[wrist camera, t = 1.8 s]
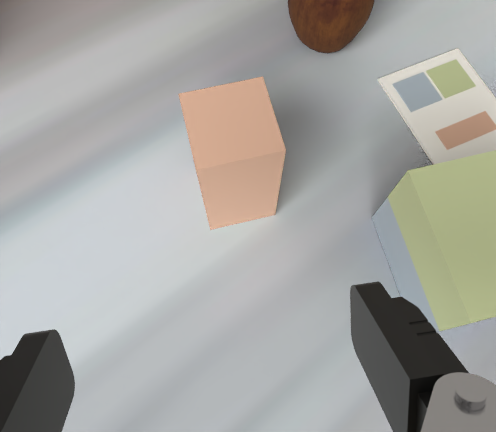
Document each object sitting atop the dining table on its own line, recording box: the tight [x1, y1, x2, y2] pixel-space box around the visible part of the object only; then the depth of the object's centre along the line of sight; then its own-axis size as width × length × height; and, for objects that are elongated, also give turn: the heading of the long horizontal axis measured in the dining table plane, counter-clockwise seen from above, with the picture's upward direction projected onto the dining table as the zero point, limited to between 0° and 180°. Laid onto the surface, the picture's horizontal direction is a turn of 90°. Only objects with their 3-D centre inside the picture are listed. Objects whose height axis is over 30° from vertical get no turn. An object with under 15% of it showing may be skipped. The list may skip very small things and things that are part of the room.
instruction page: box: [378, 48, 496, 165], centre depth 37 cm, size 10×8×1 cm
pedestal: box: [372, 150, 496, 332], centre depth 28 cm, size 9×9×8 cm
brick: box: [179, 77, 286, 230], centre depth 29 cm, size 5×5×10 cm
